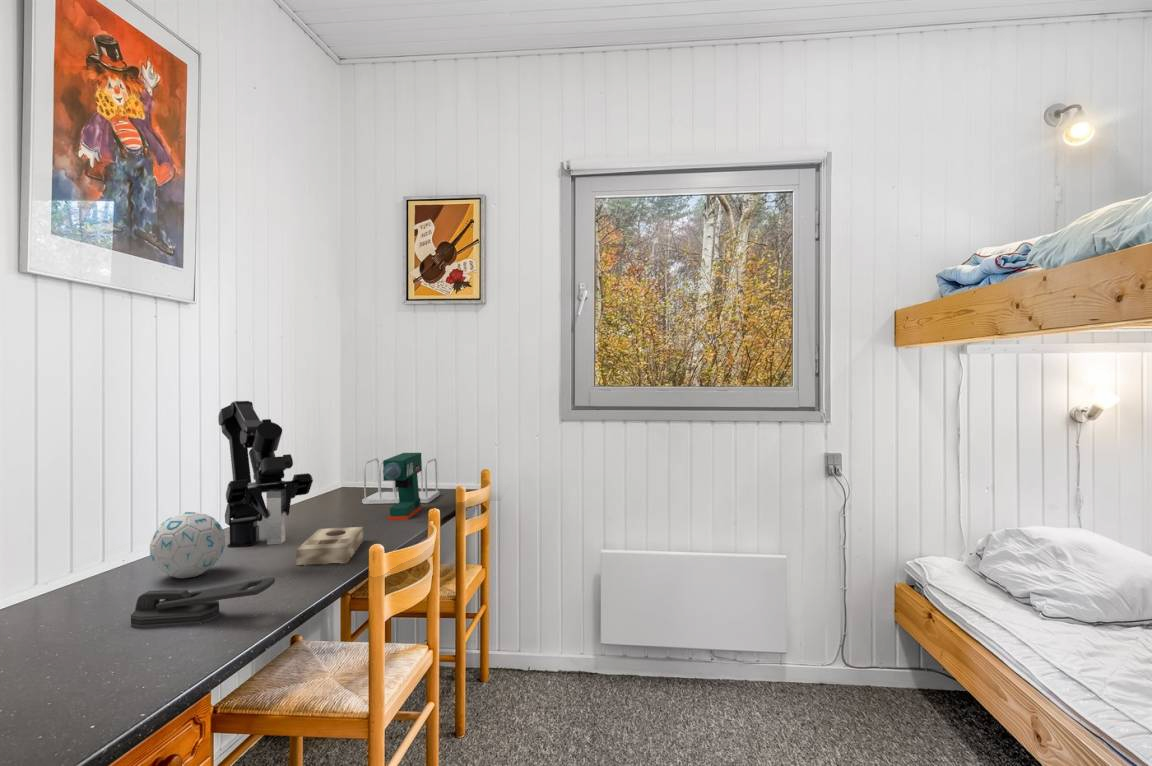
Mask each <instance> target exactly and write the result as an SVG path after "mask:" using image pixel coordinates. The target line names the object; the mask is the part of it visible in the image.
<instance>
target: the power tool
mask: <svg viewBox="0 0 1152 766" xmlns="http://www.w3.org/2000/svg"><path fill="white" fill-rule="evenodd" d="M421 460H422V452H402V453H399V454H397V455H395V456H392V457H391V456H390V457H389V458H387V459H383V461H382V462H383V464H382V467H383V469H382V475H383V476H382V477H383V478H382V481H385V482H386V481H388V482H393V481H395V484H394V489H395V488H396V489H397V492H398V493H399V503H395V504H394V505H392V506H391V507H389V515H388V516H387V520H388V521H408V520H409V519H411V518H412V517H413V516H414V515H416V514H417V513H418V512H420V511H421V510H423V505H421V504H422V503H420V498H419V491H420V490H419V479H418V473H421V471H422V472H423V466H422V467H421Z"/></svg>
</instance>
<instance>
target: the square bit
mask: <svg viewBox="0 0 1152 766" xmlns="http://www.w3.org/2000/svg"><path fill="white" fill-rule="evenodd" d="M265 493H266V497H265V498H266V508H267V513H268V518H266V544H267V545H278V544H279V545H281V544H282V543H284V542H285V541H286V513H285V489H272V490H269V491H267V492H265Z"/></svg>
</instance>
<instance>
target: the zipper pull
mask: <svg viewBox="0 0 1152 766" xmlns="http://www.w3.org/2000/svg"><path fill="white" fill-rule="evenodd" d="M275 583H276V578H275V577H274V576H271V577H265V578H260V579H254V580H249V581H245V582H239V583H235V584H234V583H233V584H228V585H222V586H218V587H212V588H206V589H200V590H194V591H189V590H188V589H156V590H155V589H154V590H148V591H146V592H144V593H141V594H140V595H139V596H138V598H137V600H136V605H135V609H134V611H133V612H132V613H131V615H130V627H131V628H132V627H133V628H139V629H149V628H151V629H152V628H162V627H163V628H164V627H176V626H177V627H178V626H179V627H180V626H194V624H196V625H201V624H200V623H202V624H204V622H205V623H207V621H208V622H210V621H213V620H215V619H216V618H218V617H219V616H220V601H221V600H229V599H235V598H236V599H237V598H243V597H250V596H256V595H259V594H261V593H262V592H264V591H266V590H268V589H269V588H270V587H271V586H273V584H275ZM218 615H219V616H218ZM217 616H218V617H217ZM212 619H213V620H212ZM209 620H210V621H209Z"/></svg>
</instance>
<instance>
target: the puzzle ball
mask: <svg viewBox="0 0 1152 766" xmlns="http://www.w3.org/2000/svg"><path fill="white" fill-rule="evenodd" d="M225 547H226V534H225V531H224V529H223V527H222V525H221V524H220V522H218V520H216V519H215V518H214V517H212V516H210V515H208V514H206V513H202V512H197V511H194V512H193V511H185V512H181V513H178V514H177V515H174V516H170V517H169V518H168V519H166V520H165V521H163V522H162V523H161V524H160V526H159V527H158V528H156V530H155V531H154V533H153V536H152V538H151V540H150V543H149V555H150V558H151V561H152V563H153V565H154V567H156V569H158V571H160V572H162V573H164V574H166V575H168V576H170V577H174V578H175V579H189V578H195V577H197V576H200V575H202V574H204V573H205V572H206V571H207V570H209V569H211V568H212V567H213V566H215V564H216V563H218V562H219V560H220V558H221V557H222V555H223V553H224V550H225ZM221 559H222V558H221Z"/></svg>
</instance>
